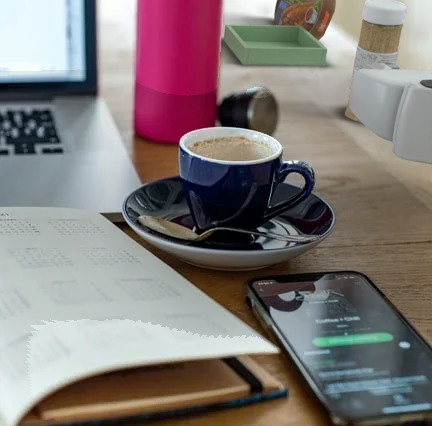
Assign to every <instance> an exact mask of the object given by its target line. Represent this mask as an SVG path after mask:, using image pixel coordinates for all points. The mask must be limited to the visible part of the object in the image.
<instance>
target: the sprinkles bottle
mask: <svg viewBox="0 0 432 426" xmlns="http://www.w3.org/2000/svg"><path fill="white" fill-rule="evenodd" d="M361 11H362V12H361V19H362V20H361V28H360V33H359V38H358V41H357V42H358V43H357V46H356V50H355V56H354V62H353V68H352V74H351V79H350V85H349V89H350V88H351V83H352V79H353V76H354V74H355V73H356V72H357V71H358V70H360V69H377V65H378V63H394V64H395V65H397V59H398V55H399V45H400V39H401V36H402V29H403V27H404V24H405V22H406V18H407V14H408V5H407V4H406V3H404V2H402V1H399V0H365V1H364V3H363V7H362V10H361ZM348 93H349V94H350V92H348ZM349 94H348V95H349ZM344 115H345V117H347V118H348V119H350V120H353V121H355V122H360V123H362V122H361V121H360V120H359V119H358V118H357V117H356V116H355V115H354V114H353V113H352V111H351V110H350V108H349V98H348V100H347V104H346V109H345V111H344Z"/></svg>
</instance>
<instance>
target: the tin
mask: <svg viewBox="0 0 432 426" xmlns="http://www.w3.org/2000/svg"><path fill="white" fill-rule="evenodd" d="M336 4H337V0H276V2H275V6H274V7H275V8H274V13H273V18H274V19H273V20H274V25H284V26H302V27H303V28H305V29H306V30H307V31H308V32H309V33H310V34H311V35H312V36H313V37H315V38H316V39H317V40H318V41H319V42H320V40H321V39H322V38H323V37H324V35H325V34H326V32H327V30H328V27H329V26H330V23H331V21H332V18H333V16H334V14H335V11H336V7H337V5H336Z"/></svg>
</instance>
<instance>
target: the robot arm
mask: <svg viewBox="0 0 432 426" xmlns="http://www.w3.org/2000/svg"><path fill="white" fill-rule="evenodd" d="M350 84H351V88H350V87H349V93H350V94H348V99H349V108H350V110H351V111H352V113H353V114H354V115H355V116H356V117H357V118H358V119H359V120H360V121H361V122H360V123H362V125H364V126H365V128H367V129H368V130H369V131H370V132H372V133H373V134H374V135H376V136H378V137H379V138H381V139H383V140H386V141H389V142H392V143H391V152H392V154H394V156H395V157H397V158H399V159H401V160H404V161H408V162H409V161H410V162H416V163H422V164H429V165H432V69H405V68H404V69H400V66H399V65H397V64H396V65H395V64H394V63H378V65H377V69H360V70H358V71H357V72H356V73H355V74H354V76H353V79H352V83H351V82H350Z"/></svg>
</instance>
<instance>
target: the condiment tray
mask: <svg viewBox="0 0 432 426" xmlns="http://www.w3.org/2000/svg"><path fill="white" fill-rule="evenodd" d="M223 42H224V43H225V44H226V45H227V47H228V48H229V49H230V50H231V52H232V53H233V54H234V55H235V57H236V58H237V60H239V62H240V63H241V64H242V66H243V65H245V66H246V65H247V66H318V67H319V66H320V67H321V66H323V67H324V66H326V62H327V54H328V48H327V47H326V46H325V45H324V44H323V43H321V41H320V40H319V41H318V40H317V39H316V38H315V37H313V36H312V35H311V34H310V33H309V32H308V31H307V30H306V29H305V28H303V27H302V26H284V25H276V24H274V25H273V24H224V35H223Z"/></svg>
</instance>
